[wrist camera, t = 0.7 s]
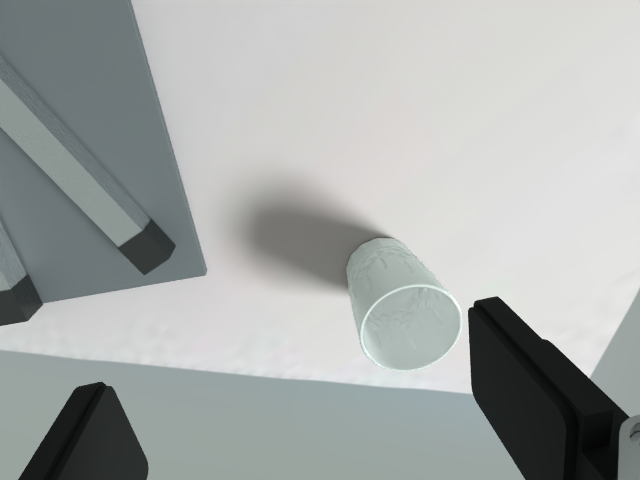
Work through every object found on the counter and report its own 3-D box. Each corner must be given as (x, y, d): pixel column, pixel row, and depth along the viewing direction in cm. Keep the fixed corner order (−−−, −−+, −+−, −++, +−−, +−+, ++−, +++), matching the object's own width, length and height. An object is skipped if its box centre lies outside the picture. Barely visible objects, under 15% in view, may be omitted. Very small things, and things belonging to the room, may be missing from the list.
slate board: (-202, -29, 27) (-218, -32, 26) (110, -72, 28) (104, -76, 27) (-15, 308, 38) (-22, 314, 37) (207, 270, 38) (205, 275, 37)
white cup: (355, 314, 42) (378, 385, 33) (327, 250, 39) (344, 309, 30) (428, 286, 42) (472, 350, 33) (406, 218, 38) (448, 268, 29)
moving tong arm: (-147, -3, 27) (-196, -10, 24) (-93, -51, 26) (-137, -64, 23) (132, 275, 36) (120, 293, 34) (176, 245, 36) (167, 261, 33)
